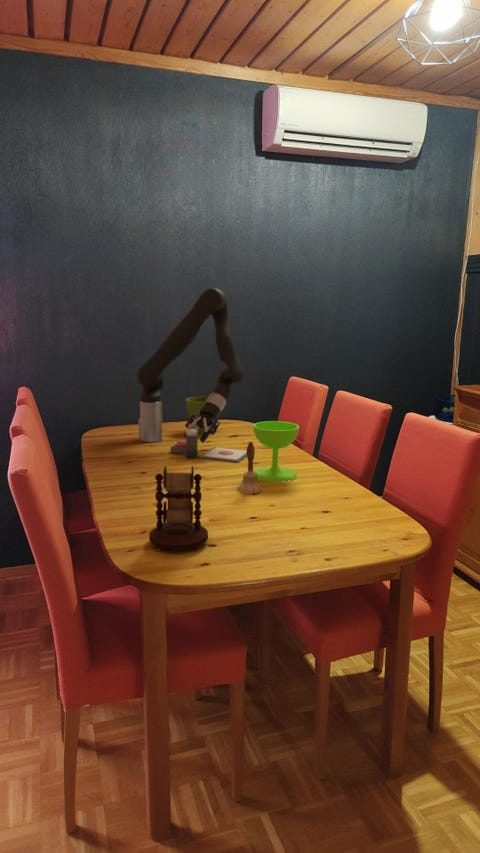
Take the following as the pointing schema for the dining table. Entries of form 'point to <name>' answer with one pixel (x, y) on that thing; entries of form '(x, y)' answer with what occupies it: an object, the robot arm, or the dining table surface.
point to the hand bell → (250, 474)
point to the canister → (191, 443)
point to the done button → (181, 443)
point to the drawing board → (225, 455)
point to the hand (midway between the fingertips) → (193, 439)
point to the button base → (178, 450)
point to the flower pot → (196, 408)
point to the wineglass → (275, 447)
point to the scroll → (178, 512)
